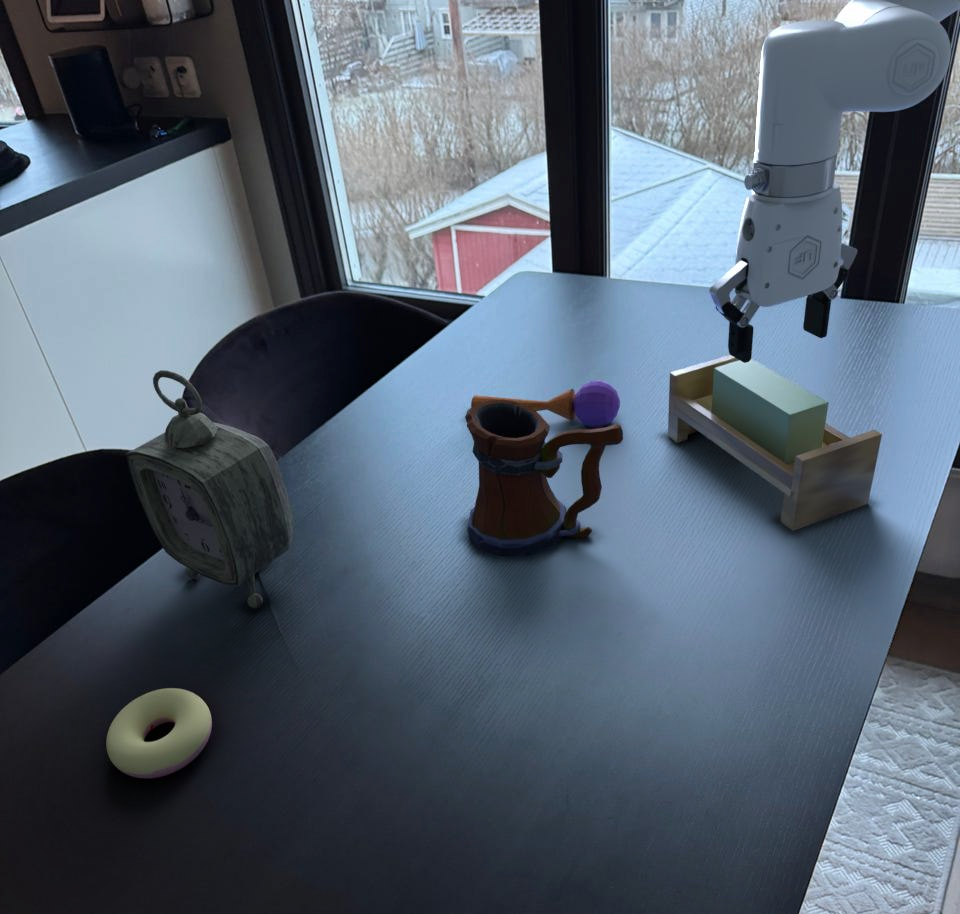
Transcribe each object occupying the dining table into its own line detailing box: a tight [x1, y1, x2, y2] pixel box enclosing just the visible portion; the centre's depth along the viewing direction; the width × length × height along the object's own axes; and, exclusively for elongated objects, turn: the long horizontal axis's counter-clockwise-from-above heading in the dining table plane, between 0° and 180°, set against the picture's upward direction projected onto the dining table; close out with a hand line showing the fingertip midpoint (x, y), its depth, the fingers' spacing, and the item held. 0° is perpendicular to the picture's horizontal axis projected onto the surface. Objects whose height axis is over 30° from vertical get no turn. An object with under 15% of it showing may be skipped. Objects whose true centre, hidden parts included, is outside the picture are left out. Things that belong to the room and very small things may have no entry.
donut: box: [105, 687, 213, 779], centre depth 84 cm, size 10×5×9 cm
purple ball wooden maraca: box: [470, 380, 621, 428], centre depth 122 cm, size 6×6×20 cm
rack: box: [667, 354, 883, 532], centre depth 106 cm, size 10×25×9 cm, turn 23°
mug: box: [464, 399, 624, 557], centre depth 99 cm, size 18×12×15 cm, turn 69°
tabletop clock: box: [126, 369, 295, 609], centre depth 95 cm, size 14×9×25 cm, turn 53°
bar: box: [711, 357, 829, 463], centre depth 104 cm, size 5×14×6 cm, turn 23°
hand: (777, 345), depth 99 cm, fingers open, 9 cm apart
